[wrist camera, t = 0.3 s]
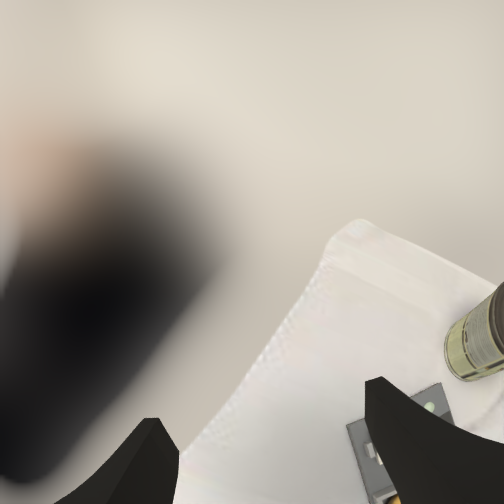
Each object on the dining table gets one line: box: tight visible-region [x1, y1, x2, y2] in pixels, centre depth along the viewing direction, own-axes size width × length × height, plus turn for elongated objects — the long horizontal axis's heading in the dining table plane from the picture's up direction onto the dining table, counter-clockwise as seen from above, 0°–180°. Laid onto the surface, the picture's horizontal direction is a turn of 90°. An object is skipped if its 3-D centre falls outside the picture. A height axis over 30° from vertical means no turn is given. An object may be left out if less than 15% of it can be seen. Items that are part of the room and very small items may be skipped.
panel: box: [346, 382, 455, 504], centre depth 25 cm, size 22×14×4 cm, turn 14°
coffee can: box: [444, 282, 504, 381], centre depth 28 cm, size 10×10×14 cm
